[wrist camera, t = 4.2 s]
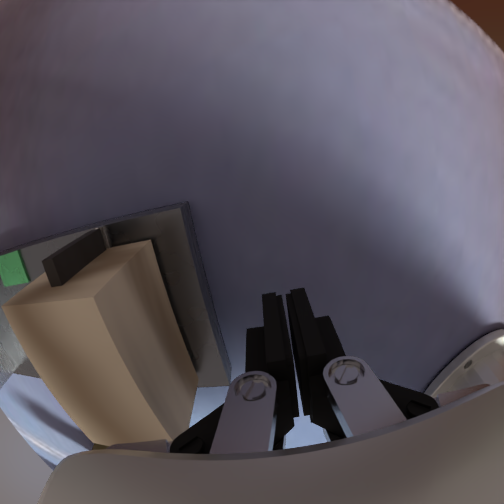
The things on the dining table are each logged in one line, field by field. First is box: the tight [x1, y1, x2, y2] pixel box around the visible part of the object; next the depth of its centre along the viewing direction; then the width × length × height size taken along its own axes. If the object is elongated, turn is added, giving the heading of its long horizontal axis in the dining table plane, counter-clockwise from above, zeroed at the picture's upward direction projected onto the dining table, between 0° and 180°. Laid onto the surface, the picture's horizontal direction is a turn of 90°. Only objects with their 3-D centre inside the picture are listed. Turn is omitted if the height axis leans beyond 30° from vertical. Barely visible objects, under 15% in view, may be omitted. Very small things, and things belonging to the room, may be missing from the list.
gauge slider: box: [1, 228, 199, 446], centre depth 10 cm, size 5×9×5 cm, turn 10°
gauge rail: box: [0, 202, 231, 389], centre depth 11 cm, size 22×10×8 cm, turn 100°
